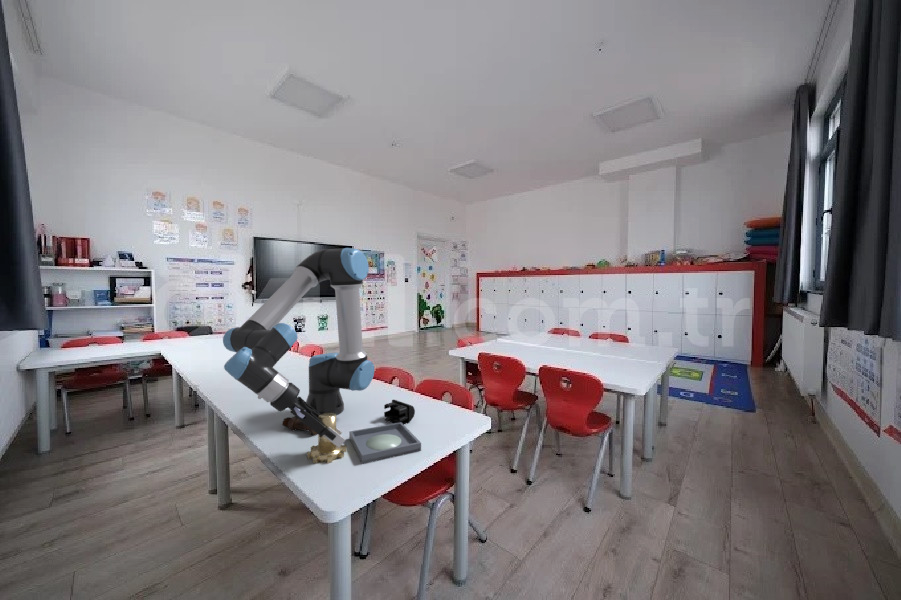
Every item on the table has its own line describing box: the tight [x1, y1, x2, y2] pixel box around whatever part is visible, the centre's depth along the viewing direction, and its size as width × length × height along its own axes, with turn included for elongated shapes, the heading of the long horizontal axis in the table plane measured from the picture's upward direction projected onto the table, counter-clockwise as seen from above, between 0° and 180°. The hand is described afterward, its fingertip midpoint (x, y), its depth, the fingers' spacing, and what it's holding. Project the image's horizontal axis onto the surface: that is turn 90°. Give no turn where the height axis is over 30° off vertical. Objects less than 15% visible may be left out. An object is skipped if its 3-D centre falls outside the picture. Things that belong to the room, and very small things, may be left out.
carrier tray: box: [348, 422, 422, 465], centre depth 106 cm, size 18×18×2 cm
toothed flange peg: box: [306, 413, 347, 464], centre depth 99 cm, size 11×11×12 cm
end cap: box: [383, 399, 416, 426], centre depth 126 cm, size 10×7×7 cm
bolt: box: [281, 415, 318, 436], centre depth 116 cm, size 6×5×15 cm
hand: (340, 439), depth 101 cm, fingers closed on toothed flange peg, 5 cm apart
